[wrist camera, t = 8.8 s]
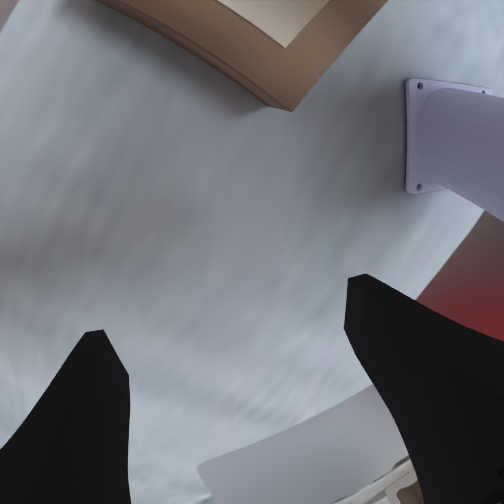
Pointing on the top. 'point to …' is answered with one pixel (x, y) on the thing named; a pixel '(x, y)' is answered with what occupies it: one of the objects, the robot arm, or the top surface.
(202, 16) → the walnut base
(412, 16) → the top surface
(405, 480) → the gable box
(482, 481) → the robot arm
